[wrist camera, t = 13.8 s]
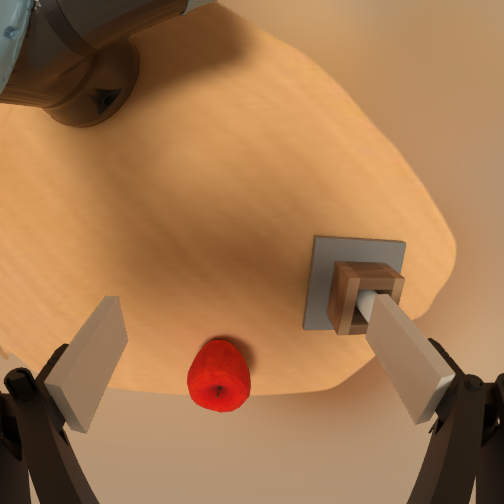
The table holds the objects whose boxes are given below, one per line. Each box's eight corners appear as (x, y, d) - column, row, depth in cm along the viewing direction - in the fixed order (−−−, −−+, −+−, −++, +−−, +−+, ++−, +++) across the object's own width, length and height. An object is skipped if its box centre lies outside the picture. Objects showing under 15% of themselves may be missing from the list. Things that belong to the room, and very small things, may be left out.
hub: (334, 260, 39) (349, 277, 33) (385, 262, 39) (405, 278, 34) (326, 313, 41) (337, 335, 36) (374, 311, 42) (390, 332, 36)
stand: (314, 235, 39) (334, 257, 30) (402, 240, 40) (436, 261, 31) (302, 325, 43) (314, 363, 35) (383, 323, 44) (408, 355, 35)
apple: (260, 357, 45) (265, 406, 35) (215, 378, 46) (211, 426, 36) (229, 317, 42) (225, 364, 32) (182, 342, 44) (169, 389, 33)
